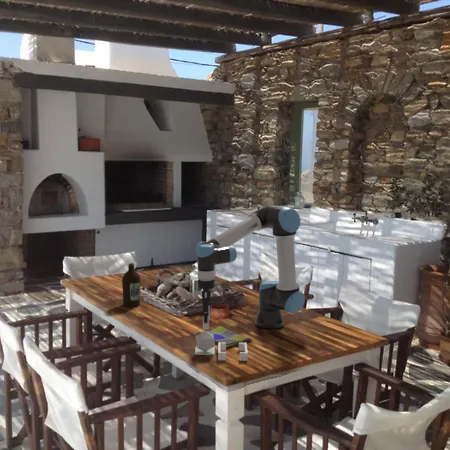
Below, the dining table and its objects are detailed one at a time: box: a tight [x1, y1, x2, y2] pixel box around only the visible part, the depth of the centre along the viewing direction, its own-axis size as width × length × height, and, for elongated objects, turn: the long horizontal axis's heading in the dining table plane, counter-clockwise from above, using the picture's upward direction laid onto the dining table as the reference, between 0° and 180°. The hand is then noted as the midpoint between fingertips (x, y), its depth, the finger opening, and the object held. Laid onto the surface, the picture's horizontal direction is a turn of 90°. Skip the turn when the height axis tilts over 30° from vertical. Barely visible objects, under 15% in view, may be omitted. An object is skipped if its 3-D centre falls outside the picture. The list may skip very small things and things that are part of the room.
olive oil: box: [121, 262, 142, 308], centre depth 327 cm, size 11×11×25 cm
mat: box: [194, 345, 216, 356], centre depth 259 cm, size 9×9×1 cm
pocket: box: [217, 342, 249, 362], centre depth 255 cm, size 13×13×4 cm
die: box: [195, 330, 216, 352], centre depth 256 cm, size 8×9×10 cm
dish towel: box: [195, 325, 252, 349], centre depth 277 cm, size 18×24×3 cm
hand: (206, 324), depth 258 cm, fingers open, 13 cm apart
